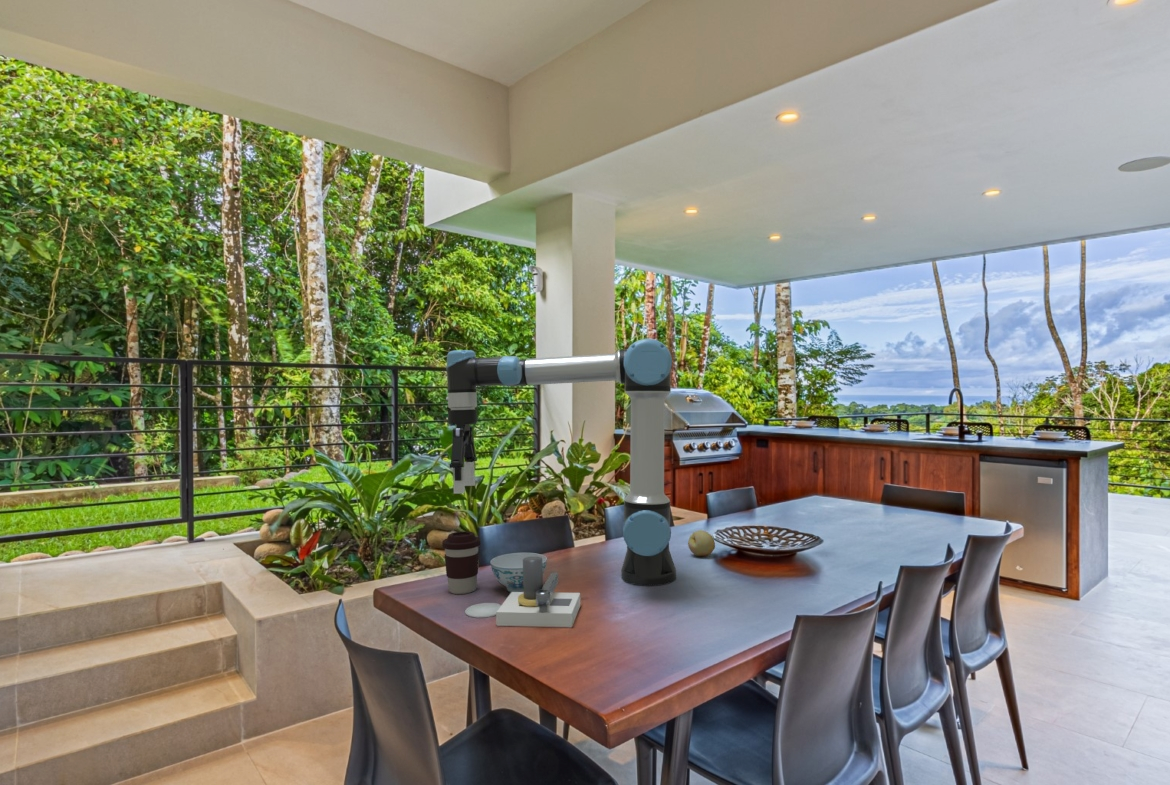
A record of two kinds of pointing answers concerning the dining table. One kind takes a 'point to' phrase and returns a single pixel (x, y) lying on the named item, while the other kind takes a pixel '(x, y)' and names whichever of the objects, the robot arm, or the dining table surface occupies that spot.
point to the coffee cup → (461, 561)
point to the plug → (531, 580)
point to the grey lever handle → (547, 590)
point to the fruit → (701, 543)
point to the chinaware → (512, 569)
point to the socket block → (539, 611)
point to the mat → (482, 610)
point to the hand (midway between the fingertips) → (464, 489)
